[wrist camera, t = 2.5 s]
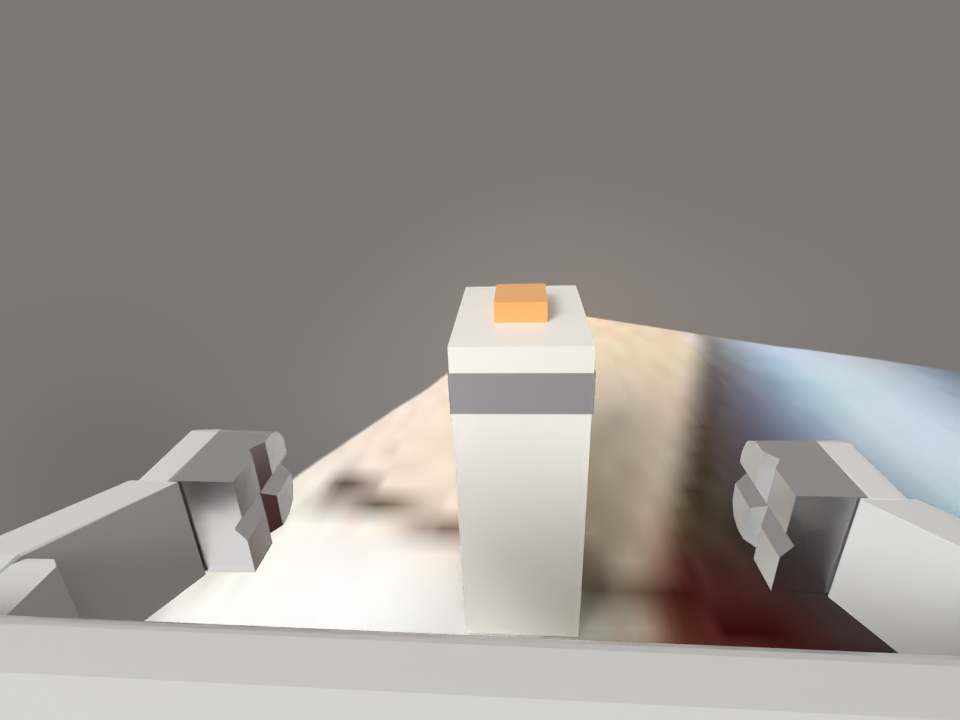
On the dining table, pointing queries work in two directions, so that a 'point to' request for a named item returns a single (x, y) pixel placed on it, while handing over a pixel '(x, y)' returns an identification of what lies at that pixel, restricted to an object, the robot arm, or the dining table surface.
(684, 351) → the dining table surface
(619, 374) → the dining table surface
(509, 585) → the block
